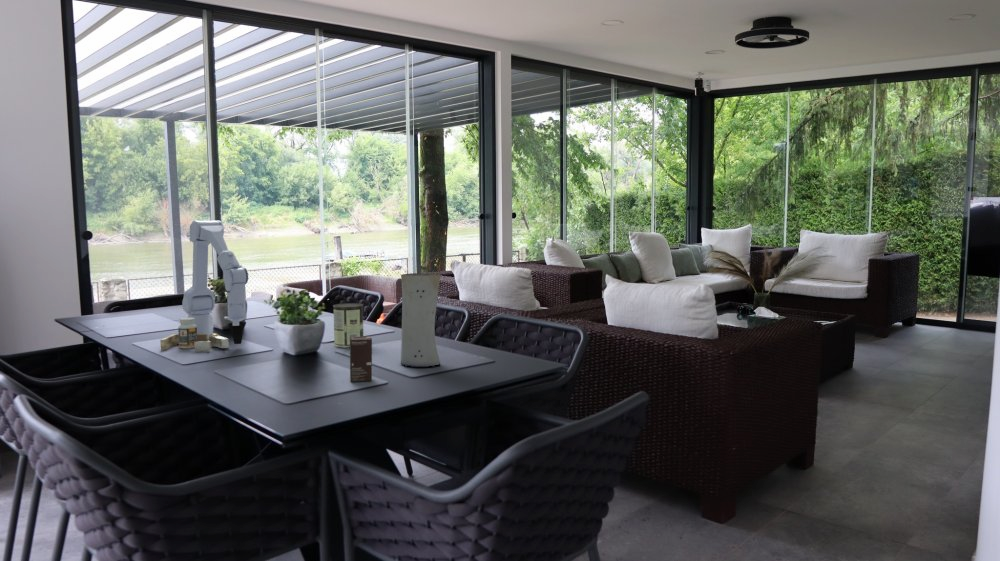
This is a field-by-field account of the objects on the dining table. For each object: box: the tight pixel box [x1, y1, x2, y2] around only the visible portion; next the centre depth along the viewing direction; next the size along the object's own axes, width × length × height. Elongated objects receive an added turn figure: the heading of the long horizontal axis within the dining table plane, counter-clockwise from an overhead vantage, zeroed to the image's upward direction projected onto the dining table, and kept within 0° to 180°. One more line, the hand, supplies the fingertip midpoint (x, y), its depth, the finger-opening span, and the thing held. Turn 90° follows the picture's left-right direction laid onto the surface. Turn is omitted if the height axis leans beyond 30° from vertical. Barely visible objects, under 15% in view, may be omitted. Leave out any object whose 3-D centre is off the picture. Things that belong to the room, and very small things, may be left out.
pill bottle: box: [177, 317, 197, 350], centre depth 247 cm, size 6×6×10 cm
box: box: [349, 336, 373, 383], centre depth 202 cm, size 6×4×12 cm
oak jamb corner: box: [160, 333, 209, 351], centre depth 248 cm, size 11×12×4 cm
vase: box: [400, 272, 442, 368], centre depth 223 cm, size 13×14×28 cm
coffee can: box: [332, 302, 364, 349], centre depth 253 cm, size 10×10×14 cm
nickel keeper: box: [194, 340, 212, 353], centre depth 242 cm, size 4×5×3 cm
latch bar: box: [208, 333, 230, 349], centre depth 248 cm, size 10×3×3 cm, turn 45°
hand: (237, 343), depth 246 cm, fingers closed
